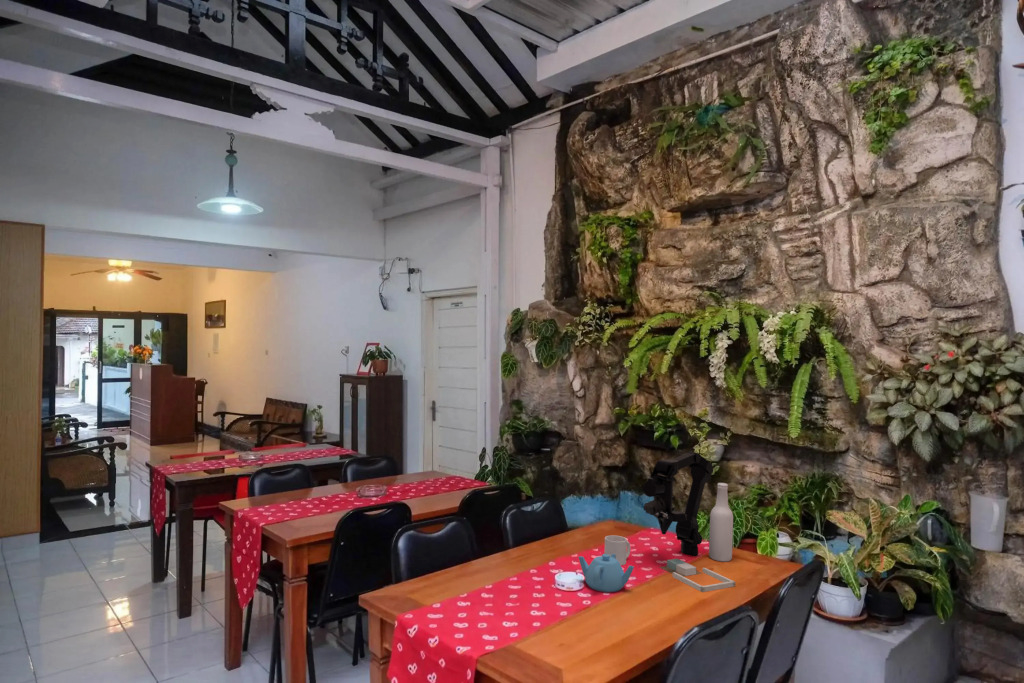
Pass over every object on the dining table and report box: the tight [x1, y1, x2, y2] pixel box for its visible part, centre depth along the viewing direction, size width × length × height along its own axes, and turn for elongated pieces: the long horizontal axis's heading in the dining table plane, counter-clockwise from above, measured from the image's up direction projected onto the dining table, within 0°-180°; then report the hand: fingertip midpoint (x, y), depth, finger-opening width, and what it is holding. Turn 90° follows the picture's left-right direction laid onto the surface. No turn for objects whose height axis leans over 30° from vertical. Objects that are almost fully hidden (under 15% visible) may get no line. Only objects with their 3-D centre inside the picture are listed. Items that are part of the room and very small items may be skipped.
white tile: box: [676, 562, 697, 577], centre depth 228 cm, size 5×5×2 cm
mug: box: [603, 535, 631, 566], centre depth 239 cm, size 12×8×10 cm
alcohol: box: [708, 482, 734, 563], centre depth 251 cm, size 9×9×30 cm
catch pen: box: [672, 567, 736, 593], centre depth 220 cm, size 15×15×3 cm
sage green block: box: [666, 558, 687, 571], centre depth 233 cm, size 5×5×2 cm
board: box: [659, 565, 703, 577], centre depth 231 cm, size 11×11×2 cm
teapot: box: [578, 553, 635, 593], centre depth 217 cm, size 15×15×11 cm
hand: (663, 534), depth 240 cm, fingers closed
